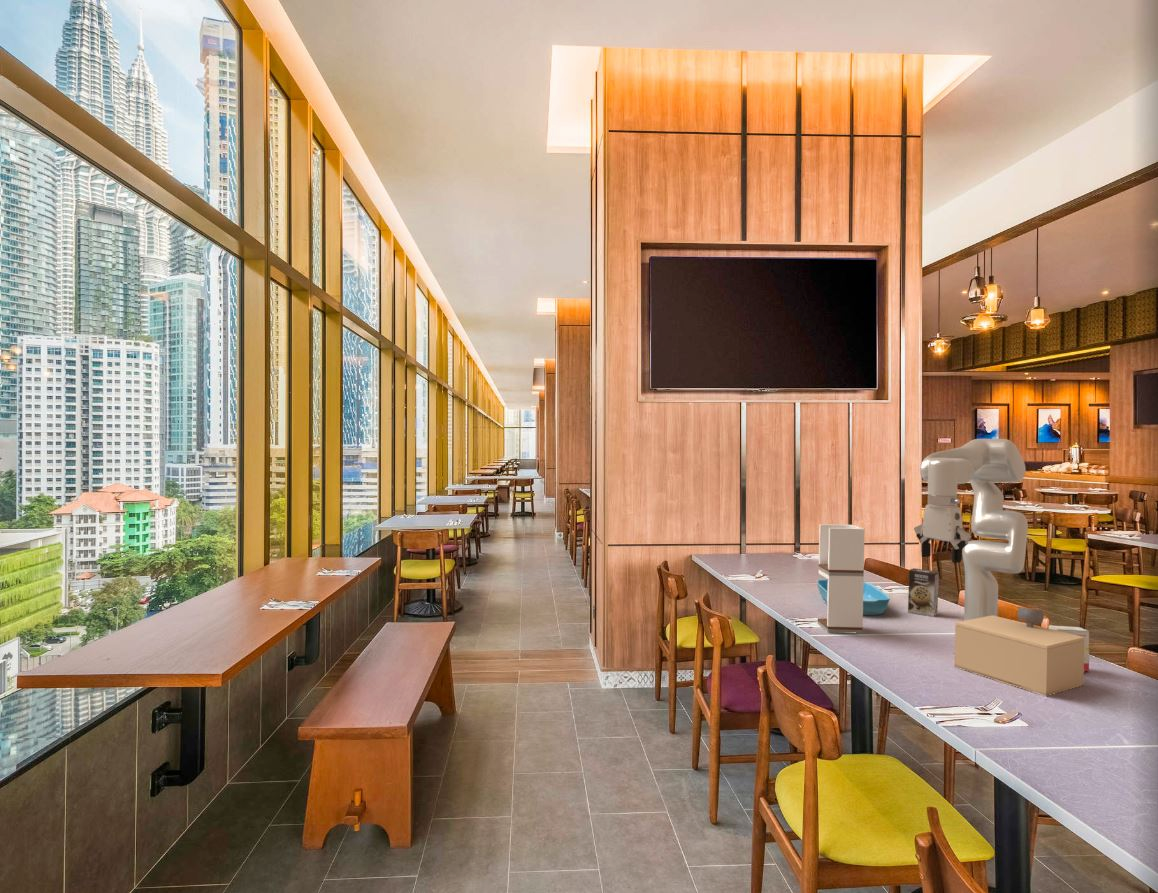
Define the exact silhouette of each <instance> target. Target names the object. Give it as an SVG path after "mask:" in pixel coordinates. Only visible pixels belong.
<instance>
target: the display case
mask: <svg viewBox="0 0 1158 893" xmlns="http://www.w3.org/2000/svg"><path fill="white" fill-rule="evenodd" d="M818 527H819V536H818V538H819V540H818V574H819V575H820V576H822V577H824V579H828V592H827V602H826V603H827V614H826V615H827V616H826V617H825V618H824V617H823V618H822V617H817V625H818V624H819V625H820V626H819V625H818V626H819V627H821V628H822V629H823V628H824V629H823V630H824V631H825V630H826V631H827V632H826V631H825V632H826V633H828V632H856V633H855V634H857V633H862V634H863V629H864V628H863V621H864V614H863V582H865V576H864V575H865V574H864V573H865V570H864V569H865V567H864V566H865V534H866V533H865V530H866V529H865V528H863V527H859V526H857V525H854V524H832V523H831V524H827V523H826V524H823V523H822V524H821V523H820V524H819V526H818Z"/></svg>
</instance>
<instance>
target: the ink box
mask: <svg viewBox="0 0 1158 893" xmlns="http://www.w3.org/2000/svg"><path fill="white" fill-rule="evenodd" d="M1048 629H1053V630H1057V631H1061V632H1065V633H1069V634H1074V635H1078V636H1082V637H1085V638H1084V673H1086V672H1085V671H1089V672H1090V631H1088V629H1084V628H1082V627H1080V626H1066V625H1064V626H1063V625H1051V624H1050V625H1048Z"/></svg>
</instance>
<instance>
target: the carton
mask: <svg viewBox="0 0 1158 893" xmlns="http://www.w3.org/2000/svg"><path fill="white" fill-rule="evenodd" d="M954 628H955V629H954V631H955V632H954V668H955V667H957V668H956V669H958V668H961V669H963V670H962V671H964V670H967V671H970V672H973V673H976V674H975V675H977V674H979V675H978V676H980V675H982V676H981V677H983V676H985V677H984V678H986V677H988V678H987V679H989V678H991V679H990V680H992V679H994V680H993V681H995V680H996V681H995V682H998V681H999V683H1001V684H1002V683H1003V684H1005V683H1006V684H1005V685H1008V684H1009V685H1008V686H1011V685H1013V686H1012V687H1014V686H1016V687H1015V688H1017V687H1019V688H1018V689H1020V688H1023V689H1026V690H1025V691H1027V690H1029V691H1028V692H1030V691H1032V692H1031V693H1033V692H1036V693H1039V694H1042V695H1045V696H1047V695H1050V694H1053V695H1055V694H1054V693H1057V692H1060V693H1062V692H1061V691H1063V692H1066V691H1069V690H1068V689H1070V690H1072V688H1073V689H1075V687H1076V688H1080V687H1082V686H1081V685H1083V686H1084V680H1085V679H1084V678H1085V677H1084V674H1085V672H1084V640H1083V641H1079V642H1074V643H1070V644H1066V645H1062V646H1058V647H1054V648H1050V649H1044V648H1041V647H1037V646H1033V645H1029V644H1025V643H1022V642H1018V641H1014V640H1010V639H1006V638H1002V637H999V636H995V635H991V634H987V633H983V632H980V631H976V630H972V629H968V628H964V627H960V626H957V625H955V627H954ZM961 669H960V670H961ZM967 671H966V672H967ZM970 672H969V673H970ZM973 673H972V674H973ZM1079 686H1080V687H1079ZM1023 689H1022V690H1023ZM1065 690H1066V691H1065ZM1036 693H1035V694H1036ZM1039 694H1038V695H1039ZM1057 694H1058V693H1057ZM1042 695H1041V696H1042ZM1045 696H1044V697H1045ZM1050 696H1051V695H1050ZM1047 697H1048V696H1047Z"/></svg>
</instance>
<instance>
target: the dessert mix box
mask: <svg viewBox="0 0 1158 893" xmlns="http://www.w3.org/2000/svg"><path fill="white" fill-rule="evenodd" d="M939 576H940V572H939V571H935V570H928V569H923V568H922V569H920V568H915V567H914V568H910V569H909V571H908V596H907V597H908V599H907V601H908V602H907V603H908V604H907V613H911V614H915V613H916V615H920V614H922V615H921V616H926V615H928V616H927V617H932V616H934V615H935V616H936V614H937V613H938V614H939V612H938V606H939V605H938V604H939V582H940V580H939V578H940V577H939ZM938 614H937V615H938ZM935 616H934V617H935Z"/></svg>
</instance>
